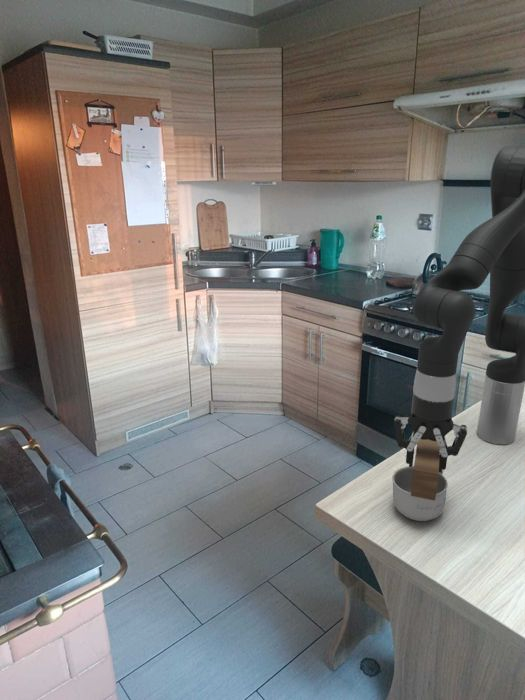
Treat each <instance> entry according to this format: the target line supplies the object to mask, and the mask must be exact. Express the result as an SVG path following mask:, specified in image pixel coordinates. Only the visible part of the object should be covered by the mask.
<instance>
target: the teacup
mask: <svg viewBox="0 0 525 700" xmlns="http://www.w3.org/2000/svg"><path fill="white" fill-rule="evenodd" d="M413 471H414V465H413V466H412V467H409V465H408V466H403V467H401V468H398V469H397V470H395V471H394V472H393V474H392V476H391V478H392V500H393V504H394V506H395V508H396V510H397V511H398V512H399V513H400V514H401V515H404V516H405V517H406V518H408V519H410V520H412V521H416V522H427V521H431V520H433V519H436V518H438V517H440V515H441V514H442V513H443V512H444V509H445V507H446V506H445V505H446V502H447V493H448V492H447V490H448V485H449V484H448V479H446V477H445V476H444V474H443V473H444V470H442V472H439V475H438V483H437V491H436V498H435V501H434V500H429V499H424V498H419V497H414V496H411V489H412V480H413Z"/></svg>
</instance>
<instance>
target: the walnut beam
mask: <svg viewBox="0 0 525 700" xmlns="http://www.w3.org/2000/svg"><path fill="white" fill-rule="evenodd" d="M414 456H415V458H414V462H413V466H414V471H413V480H412V489H411V496H414V497H419V498H424V499H429V500H434V501H435V498H436V491H437V483H438V475H439V457H440V449H439V447H438V444H437V442H436V441H431V440H429V439H427V440H423V439H420V440H419V442H418V443H417V444H416V450H415V455H414Z"/></svg>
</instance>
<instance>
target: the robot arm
mask: <svg viewBox="0 0 525 700" xmlns="http://www.w3.org/2000/svg"><path fill="white" fill-rule="evenodd" d="M491 167H492V168H491V171H490V172H491V173H490V185H489V186H490V203H491V215H492V216H491V218H489V219H486V221H484V222H482V223H481V224H479V225H478V226H477V227H475V228H474V229H473V230H472V231H470V232H469V233H468V234H466V236H465V237H464V238H463V240H462V241H461V243H460V244H459V246H458V248H457V249H456V251H455V252H454V254H453V256H452V257H451V259H450V260H449V262H448V263H447V264H446V266H444V267H443V268H442V269H441V270H439V271H438V272H437V273H436V274H435V275H434V276H433V277H431V279H430V280H429V281H428V282H427V283H425V284H424V285H423V287H421V289H420V290H419V291H418V292H417V295H416V296H415V298H414V300H413V306H412V312H413V316H414V318H415V320H416V321H418V322H419V323H421V324H424V325H425V326H426V325H428V326H430V327H434V328H438V329H441V330H442V334H441V336H429V337H425V338H424V339H422V340H421V342H420V344H419V348H418V355H417V366H416V372H415V376H414V380H413V386H412V387H413V388H412V390H413V392H412V400H411V411H410V414H409V415H408V416H405V417H404V416H403V417H402V416H401V415H396V416H395V417H394V424H393V425H394V429H395V430H394V431H395V435H396V436H395V437H396V441H397V446H398V447H399V448H404V449H405V450H406V456H405V463H406V464H407V465H408V466H409V467H412V466H414V459H415V458H414V456H415V455H414V454H415V447H417V443H418V442H419V440H420V439H423V440H427V439H429V440H431V441H436V442H437V444H438V447H439V449H440V457H439V472H442V470H443V471H445V470H446V469H447V462H448V457H451V456H453V457H457V456H458V455H459V453H460V450H461V449H462V446H463V444H464V442H465V439H466V437H467V435H468V427H467V425H466V424H461V425H459V424H456V423H454V421H453V410H454V403H455V395H456V393H457V392H456V390H457V389H456V388H457V369H458V362H459V353H460V352H461V348H462V346H463V343H464V341H465V338H466V336H467V334H468V331H469V330H470V327H471V326H472V323H473V321H474V318H475V316H476V315H475V314H476V306H475V302H474V299H473V297H471V295H469V294H468V293H466V292H463V291H470V290H471V291H473V290H476V289H478V288H480V287H481V286H483V284H484V282H485V280H486V279H487V278H488V276H489V300H488V301H489V302H488V310H487V316H486V322H485V323H486V324H485V333H484V334H485V335H484V336H485V337H484V339H485V344H486V346H487V347H488V348H489V349H491V350H494V351H501V352H507V353H511V354H515V355H513V356H510V357H507V358H502V359H501V358H500V359H495V360H492V361H489V362H488V364H487V365H486V370H485V377H484V382H483V391H482V397H481V401H480V408H479V415H478V421H477V429H476V435H477V436H478V437H479V438H480V439H481V440H483V441H485V442H487V443H489V444H494V445H509V444H510V445H511V444H512V443H514V442H515V441H516V433H517V429H518V424H519V419H520V413H521V407H522V402H523V398H524V392H525V315H519V314H510V313H505V310H506V309H507V308H508V306H509V305H510V304H511V303H512V302H514V300H515V299H516V298H517V297H519V296H521V295H522V293H524V291H525V145H524V146H523V145H506V146H504V147H503V148H501V149H500V150H499V151H498V152H497V154H496V155H495V157H494V161H493V163H492V166H491ZM406 425H409V427H410V428H411V430H412V431H413V432H412V433H411V435H410V437H409V439H406V437H405V431H404V429H405V428H406ZM452 431H453V435H454V439H453V442H452V444H451V445H449V446H448V444H447V441H446V436H447V435H448V434H449V433H450V432H452Z"/></svg>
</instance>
